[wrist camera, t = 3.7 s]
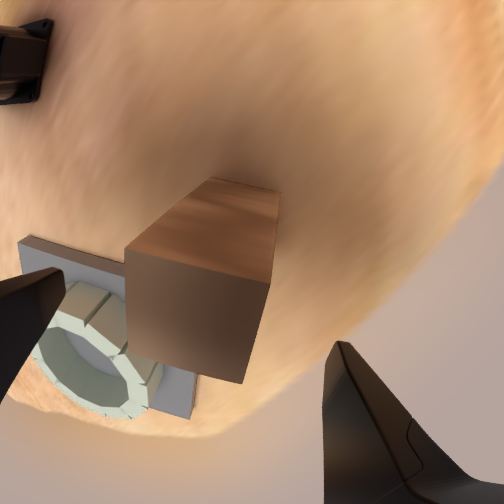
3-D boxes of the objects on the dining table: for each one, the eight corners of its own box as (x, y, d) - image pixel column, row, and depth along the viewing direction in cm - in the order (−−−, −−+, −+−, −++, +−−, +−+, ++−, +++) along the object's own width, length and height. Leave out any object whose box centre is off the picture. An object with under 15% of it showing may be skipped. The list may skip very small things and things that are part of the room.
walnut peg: (200, 241, 18) (128, 352, 9) (210, 177, 17) (124, 247, 8) (265, 256, 18) (241, 384, 9) (280, 192, 17) (270, 283, 8)
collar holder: (53, 355, 26) (30, 385, 21) (28, 235, 20) (-12, 261, 15) (193, 407, 26) (180, 450, 21) (209, 286, 20) (188, 334, 15)
